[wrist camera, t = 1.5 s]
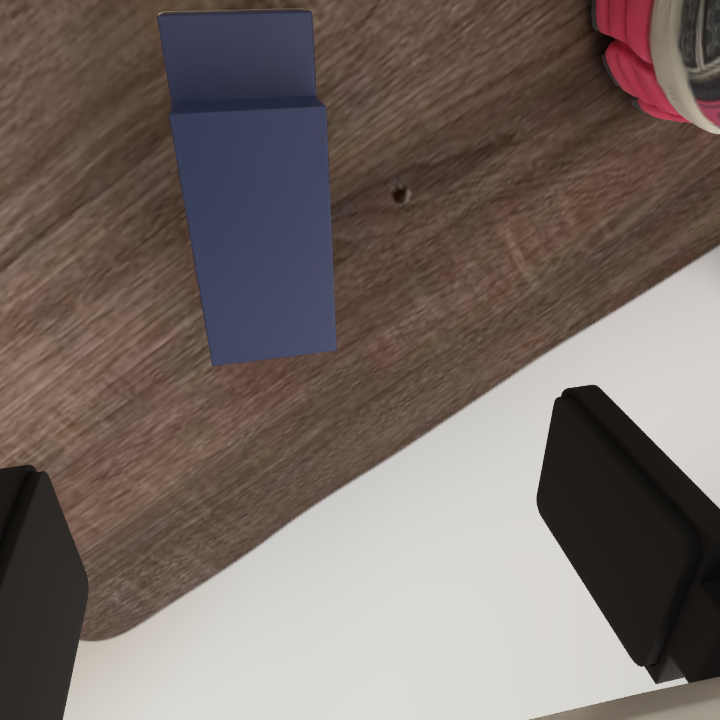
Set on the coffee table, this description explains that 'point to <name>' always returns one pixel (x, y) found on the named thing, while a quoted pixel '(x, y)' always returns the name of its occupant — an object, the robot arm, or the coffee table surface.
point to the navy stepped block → (253, 178)
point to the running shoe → (665, 56)
